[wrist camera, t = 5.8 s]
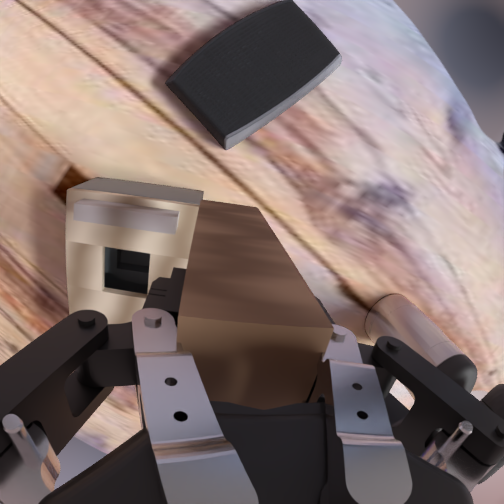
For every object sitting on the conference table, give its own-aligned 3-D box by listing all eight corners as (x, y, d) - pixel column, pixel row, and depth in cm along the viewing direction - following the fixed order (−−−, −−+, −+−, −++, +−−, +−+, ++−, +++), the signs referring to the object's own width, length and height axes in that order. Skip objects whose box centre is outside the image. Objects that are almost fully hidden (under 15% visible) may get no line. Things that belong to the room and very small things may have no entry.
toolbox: (203, 191, 38) (201, 204, 30) (183, 338, 45) (180, 373, 37) (97, 177, 35) (72, 187, 28) (94, 323, 42) (78, 355, 35)
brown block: (257, 207, 22) (334, 328, 8) (247, 260, 23) (296, 424, 9) (200, 199, 21) (178, 315, 7) (193, 253, 22) (173, 420, 8)
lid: (201, 205, 30) (200, 213, 27) (179, 375, 37) (178, 393, 34) (70, 187, 27) (56, 193, 24) (78, 357, 34) (70, 373, 31)
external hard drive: (342, 69, 35) (356, 63, 31) (229, 155, 37) (231, 156, 33) (281, -2, 30) (288, -15, 26) (161, 79, 32) (155, 73, 29)
